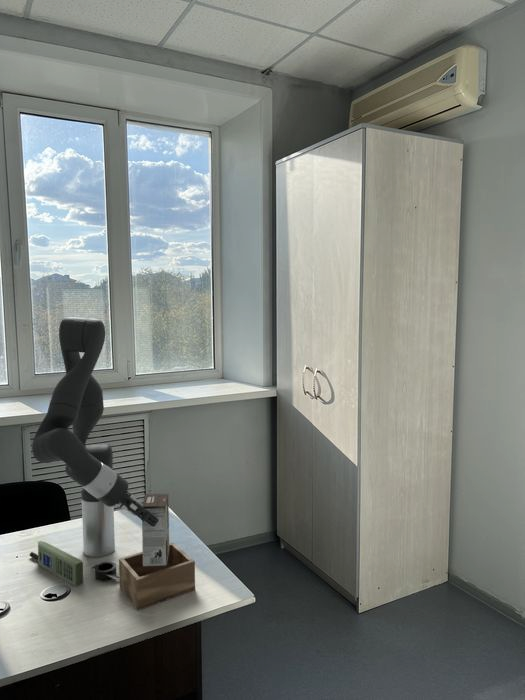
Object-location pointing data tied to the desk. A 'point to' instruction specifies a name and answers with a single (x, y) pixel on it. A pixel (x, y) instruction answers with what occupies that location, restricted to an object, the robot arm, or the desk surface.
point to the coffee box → (156, 531)
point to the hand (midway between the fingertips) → (149, 517)
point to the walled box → (156, 578)
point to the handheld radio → (59, 563)
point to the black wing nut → (105, 571)
